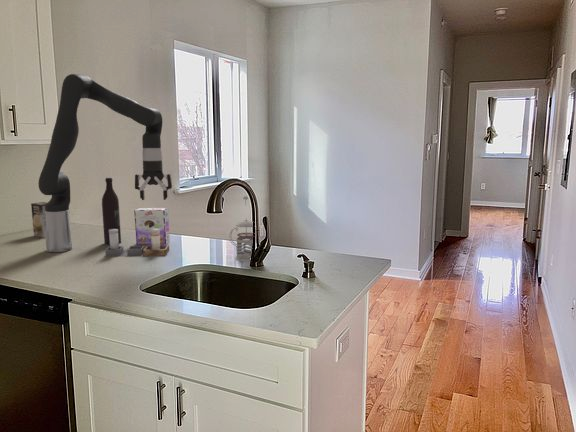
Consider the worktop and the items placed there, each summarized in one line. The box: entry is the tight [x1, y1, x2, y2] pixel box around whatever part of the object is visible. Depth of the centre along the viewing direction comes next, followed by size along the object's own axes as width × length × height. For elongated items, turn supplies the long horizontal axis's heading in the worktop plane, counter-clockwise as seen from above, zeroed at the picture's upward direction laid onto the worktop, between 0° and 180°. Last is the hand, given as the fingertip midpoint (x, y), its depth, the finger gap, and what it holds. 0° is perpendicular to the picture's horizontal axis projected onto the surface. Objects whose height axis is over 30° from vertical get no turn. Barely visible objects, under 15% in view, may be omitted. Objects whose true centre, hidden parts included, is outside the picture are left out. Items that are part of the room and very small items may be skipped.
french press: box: [229, 195, 254, 262], centre depth 196 cm, size 10×12×25 cm
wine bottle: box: [101, 177, 122, 246], centre depth 220 cm, size 7×7×30 cm
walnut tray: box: [142, 244, 170, 257], centre depth 204 cm, size 9×9×3 cm
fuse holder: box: [104, 245, 146, 258], centre depth 202 cm, size 14×9×3 cm, turn 96°
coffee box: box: [30, 201, 47, 239], centre depth 241 cm, size 9×6×16 cm
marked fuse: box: [150, 229, 160, 250], centre depth 203 cm, size 4×4×10 cm
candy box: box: [133, 207, 171, 245], centre depth 221 cm, size 14×6×16 cm, turn 84°
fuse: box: [109, 229, 120, 250], centre depth 201 cm, size 4×4×10 cm
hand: (154, 199), depth 200 cm, fingers open, 8 cm apart
